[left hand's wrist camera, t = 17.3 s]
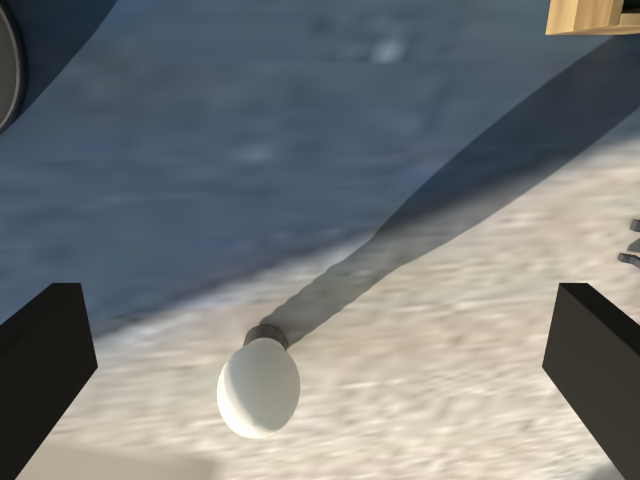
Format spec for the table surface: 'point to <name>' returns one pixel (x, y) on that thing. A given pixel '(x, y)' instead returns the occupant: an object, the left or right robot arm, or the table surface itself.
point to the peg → (631, 4)
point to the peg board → (591, 18)
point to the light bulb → (259, 385)
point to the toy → (632, 259)
